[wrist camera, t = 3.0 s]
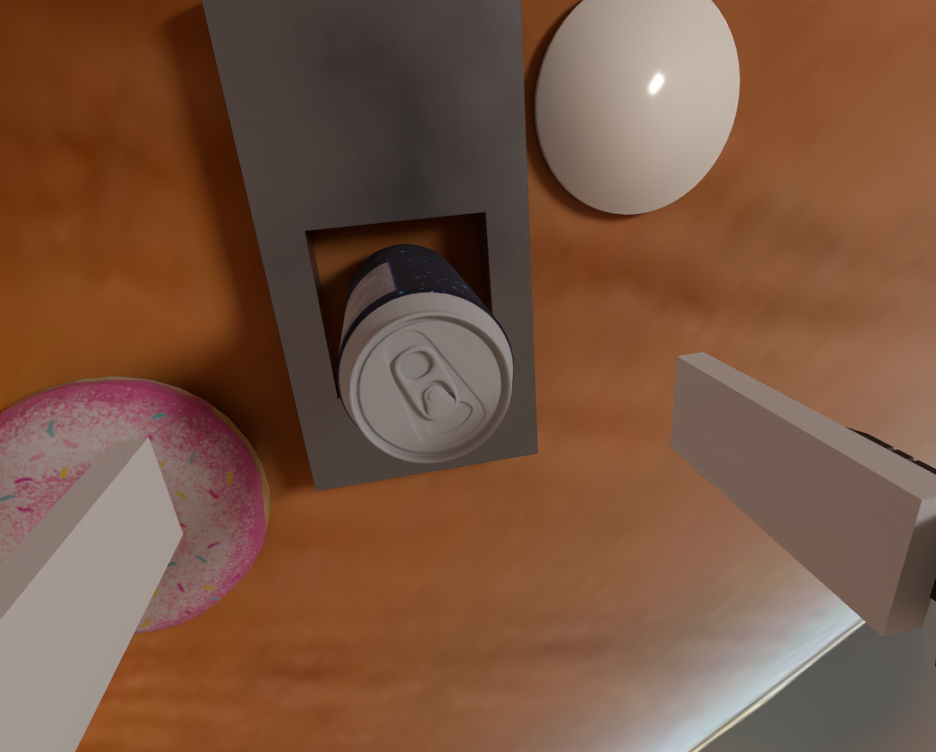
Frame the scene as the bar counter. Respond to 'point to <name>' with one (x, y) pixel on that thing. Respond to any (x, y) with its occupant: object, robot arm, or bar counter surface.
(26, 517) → the donut
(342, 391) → the beverage can
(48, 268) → the bar counter surface
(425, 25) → the grey board with hole
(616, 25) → the coaster
